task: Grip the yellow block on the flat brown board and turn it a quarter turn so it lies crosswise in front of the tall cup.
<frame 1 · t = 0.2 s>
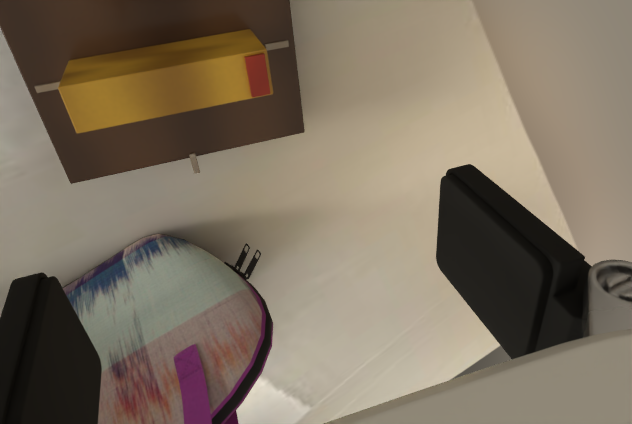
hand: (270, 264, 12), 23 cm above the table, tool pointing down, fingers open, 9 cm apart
handbag: (141, 298, 40), on the table
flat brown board: (165, 50, 30), on the table
yellow block: (170, 78, 26), point 5 cm above the table, hinge at 0.0°
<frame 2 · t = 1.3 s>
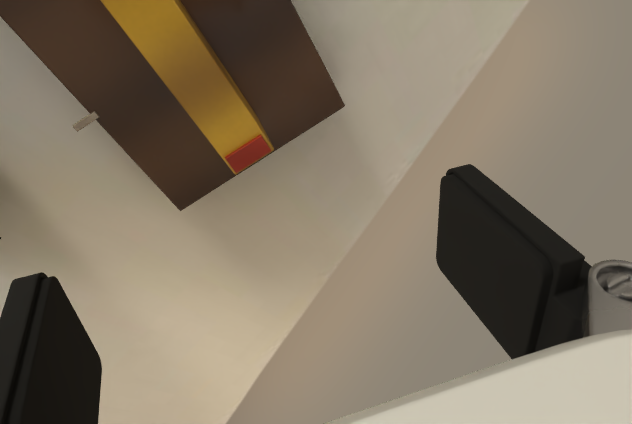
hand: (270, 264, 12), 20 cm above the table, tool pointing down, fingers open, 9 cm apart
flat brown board: (183, 39, 28), on the table
yellow block: (192, 67, 23), point 5 cm above the table, hinge at 0.0°
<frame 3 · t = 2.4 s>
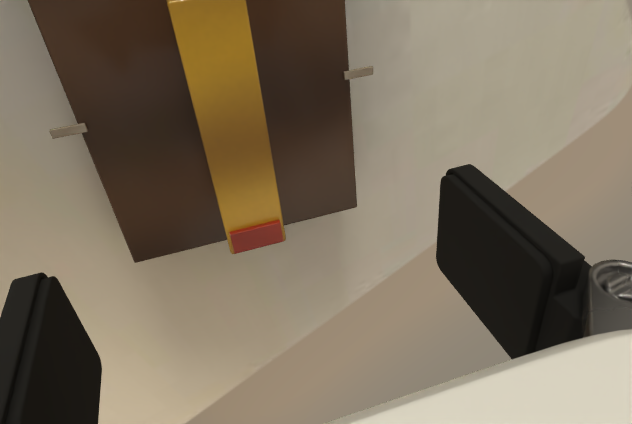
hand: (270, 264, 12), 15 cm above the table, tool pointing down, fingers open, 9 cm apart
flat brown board: (213, 78, 24), on the table
yellow block: (228, 120, 19), point 5 cm above the table, hinge at 0.0°
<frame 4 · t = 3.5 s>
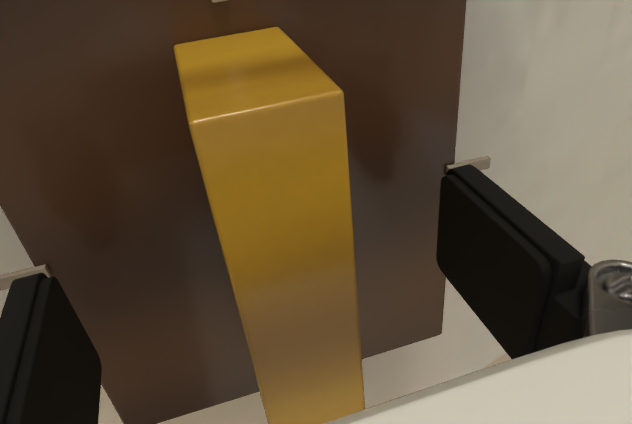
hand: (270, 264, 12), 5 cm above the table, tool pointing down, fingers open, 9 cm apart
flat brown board: (244, 167, 16), on the table
yellow block: (282, 269, 12), point 5 cm above the table, hinge at 0.0°
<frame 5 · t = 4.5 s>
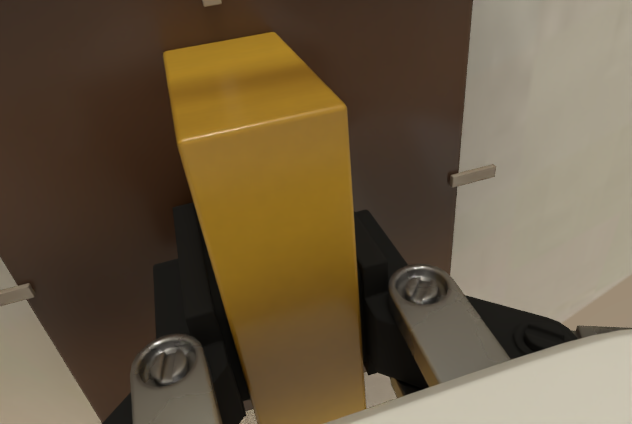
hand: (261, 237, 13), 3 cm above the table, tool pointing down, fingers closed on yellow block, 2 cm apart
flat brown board: (239, 176, 15), on the table
yellow block: (279, 288, 11), point 5 cm above the table, hinge at 0.0°, touching gripper
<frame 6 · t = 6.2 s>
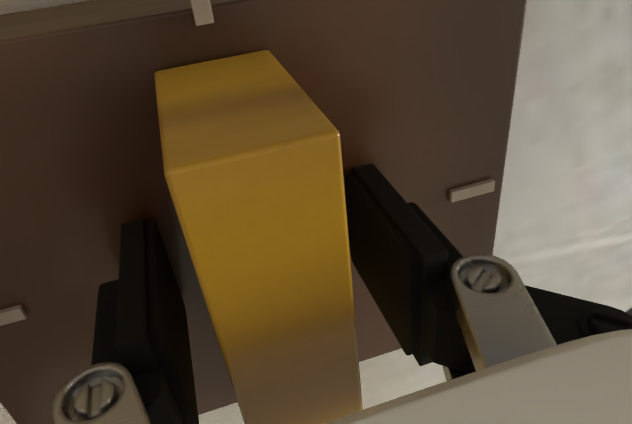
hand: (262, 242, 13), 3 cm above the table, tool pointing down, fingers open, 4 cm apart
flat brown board: (235, 192, 15), on the table
yellow block: (275, 309, 11), point 5 cm above the table, hinge at 90.1°
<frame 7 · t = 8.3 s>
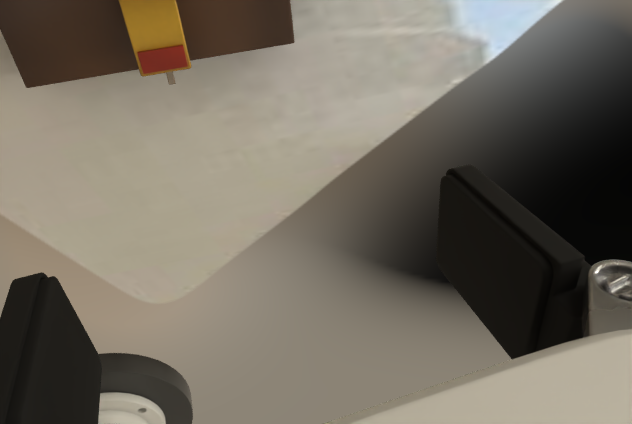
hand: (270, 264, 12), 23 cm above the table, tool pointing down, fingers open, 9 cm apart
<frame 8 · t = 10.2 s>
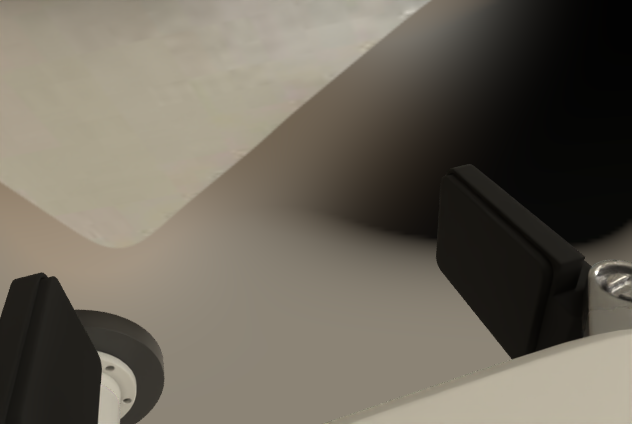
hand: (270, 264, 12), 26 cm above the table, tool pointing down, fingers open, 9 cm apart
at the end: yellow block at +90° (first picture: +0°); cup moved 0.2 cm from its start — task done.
